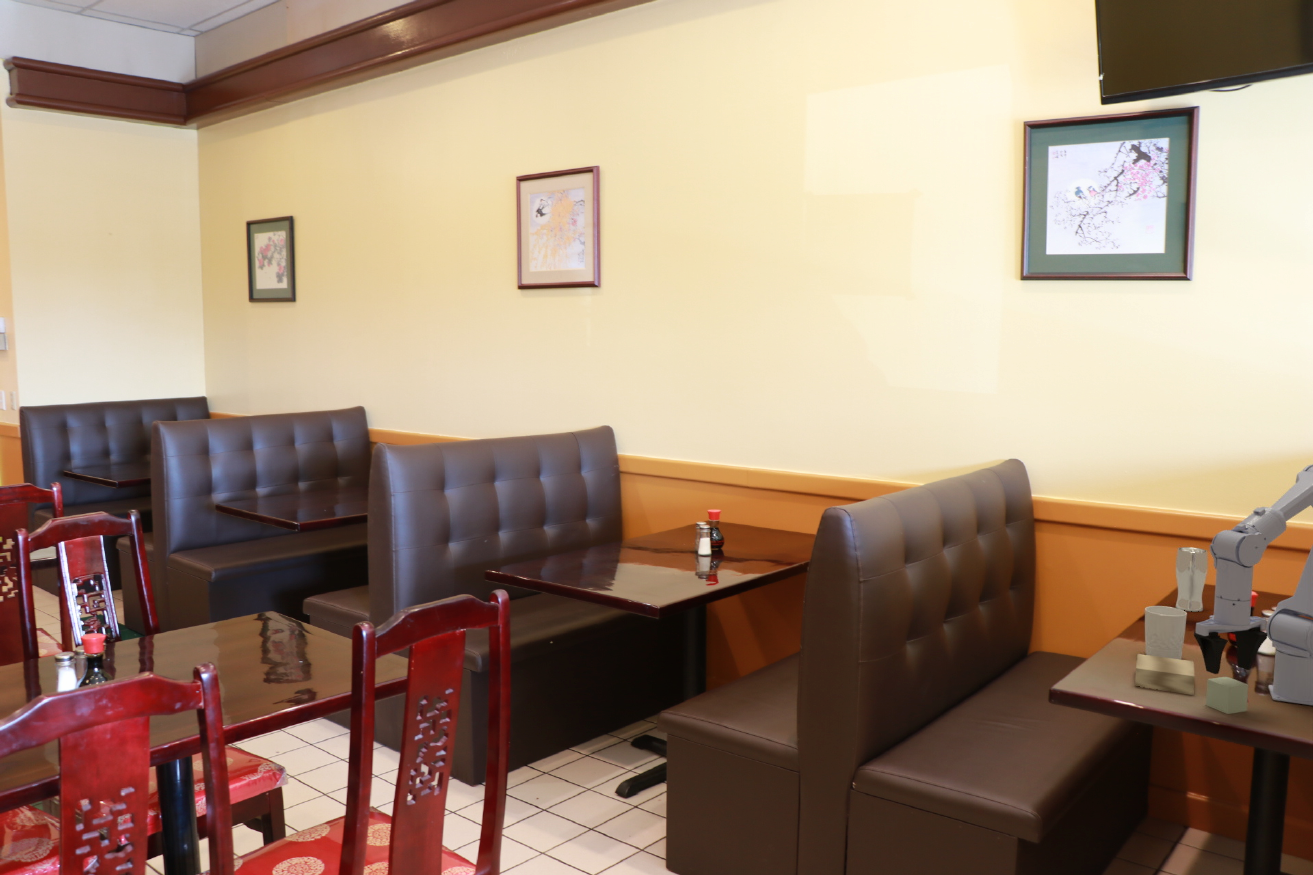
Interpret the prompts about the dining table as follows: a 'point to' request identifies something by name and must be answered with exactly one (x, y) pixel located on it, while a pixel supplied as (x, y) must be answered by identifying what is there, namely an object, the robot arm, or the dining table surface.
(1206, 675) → the dining table surface
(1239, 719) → the dining table surface
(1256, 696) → the dining table surface
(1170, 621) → the white cup
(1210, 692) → the sage block
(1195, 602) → the beer glass
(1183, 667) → the bamboo box
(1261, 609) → the dining table surface
